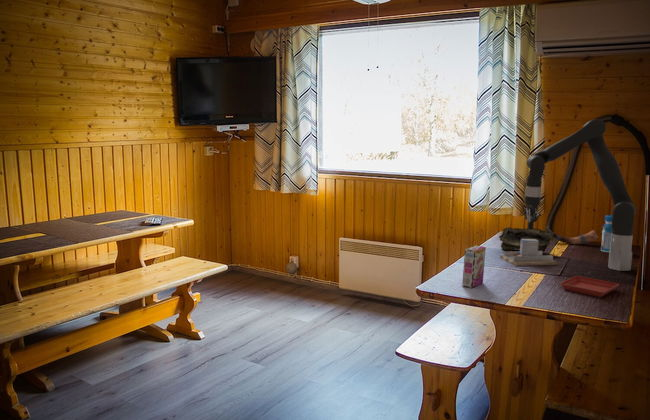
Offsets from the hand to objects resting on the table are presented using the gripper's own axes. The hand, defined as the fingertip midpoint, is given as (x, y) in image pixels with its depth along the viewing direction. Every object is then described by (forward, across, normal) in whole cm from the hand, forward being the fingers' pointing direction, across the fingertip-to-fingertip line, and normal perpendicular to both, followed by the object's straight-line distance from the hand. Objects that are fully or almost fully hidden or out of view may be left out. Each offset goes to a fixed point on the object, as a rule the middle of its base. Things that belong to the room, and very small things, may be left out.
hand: (530, 229), depth 282 cm
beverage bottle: (+17, +17, -58) cm, 63 cm away
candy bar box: (+17, -37, +46) cm, 61 cm away
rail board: (+17, 0, 0) cm, 17 cm away
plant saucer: (+17, -49, -1) cm, 52 cm away
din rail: (+15, 0, 0) cm, 15 cm away
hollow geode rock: (+17, +20, -9) cm, 27 cm away
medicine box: (+14, 0, 0) cm, 14 cm away
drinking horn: (+17, +37, -48) cm, 63 cm away
